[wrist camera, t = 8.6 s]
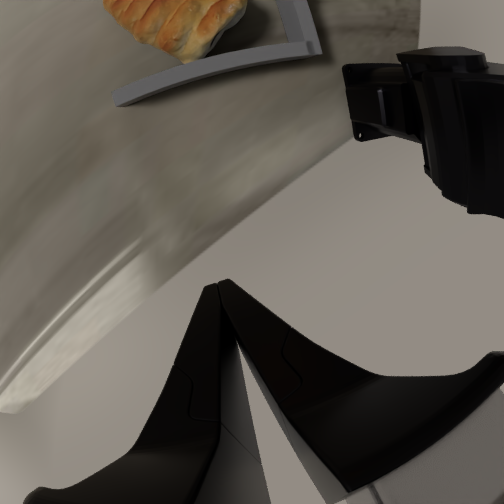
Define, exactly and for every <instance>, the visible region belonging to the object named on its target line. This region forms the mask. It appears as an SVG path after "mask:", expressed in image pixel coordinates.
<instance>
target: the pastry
mask: <svg viewBox="0 0 504 504" xmlns="http://www.w3.org/2000/svg"><path fill="white" fill-rule="evenodd" d="M247 2H248V0H103V5H104V9H105V10H106V11H108V12H109V13H110V14H111V15H112V16H113V17H114V18H115V20H116V21H117V23H118V24H119V25H120V26H122V27H123V28H124V29H126V30H128V31H129V32H130V33H131V34H132V35H133V36H134V38H135V39H136V40H137V41H138V42H140V43H142V44H150V45H152V46H154V47H155V48H157V49H160V50H162V51H163V52H165V53H167V54H169V55H171V56H174V57H175V58H178V59H179V60H180V61H181V62H182V63H183V64H186V63H189V62H193V61H196V60H200V59H203V58H204V57H205V56H206V55H207V53H209V52H210V51H211V50H212V49H213V47H214V46H215V45H216V43H217V41H218V40H219V39H220V37H221V36H222V34H223V32H224V31H225V30H227V29H229V28H231V27H233V26H234V25H235V24H237V22H238V21H239V20H240V19H241V18H242V17H243V15H244V13H245V11H246V7H247Z"/></svg>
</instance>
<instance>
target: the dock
mask: <svg viewBox="0 0 504 504" xmlns="http://www.w3.org/2000/svg"><path fill="white" fill-rule="evenodd" d="M276 3H277V6H278V9H279V12H280V15H281V18H282V21H283V25H284V28H285V31H286V35H287V38H288V42H289V43H283V44H275V45H268V46H261V47H255V48H249V49H244V50H238V51H233V52H229V53H224V54H220V55H216V56H212V57H208V58H204V59H200V60H196V61H193V62H189V63H186V64H183V65H180V66H176V67H173V68H170V69H167V70H164V71H161V72H159V73H156V74H153V75H150V76H148V77H145V78H143V79H140V80H138V81H135V82H133V83H130V84H128V85H125V86H123V87H121V88H119V89H116V90H114V91H112V92H111V93H112V97H113V100H114V103H115V106H116V107H125V106H127V105H129V104H132V103H134V102H137V101H139V100H141V99H144V98H146V97H149V96H152V95H154V94H157V93H160V92H162V91H165V90H168V89H171V88H174V87H177V86H180V85H183V84H186V83H189V82H193V81H196V80H199V79H203V78H206V77H210V76H214V75H218V74H221V73H226V72H230V71H234V70H238V69H243V68H248V67H253V66H258V65H264V64H269V63H276V62H282V61H289V60H297V59H306V58H309V57H313V56H317V55H320V54H322V50H321V47H320V43H319V39H318V36H317V32H316V29H315V25H314V22H313V18H312V15H311V12H310V9H309V6H308V3H307V0H276Z"/></svg>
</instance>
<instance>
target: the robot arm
mask: <svg viewBox="0 0 504 504" xmlns="http://www.w3.org/2000/svg"><path fill="white" fill-rule="evenodd" d="M396 55H397V58H398V61H399V62H401V64H391V63H361V64H346V65H344V66H343V67H342V72H343V77H344V82H345V87H346V96H347V101H348V107H349V113H350V119H351V120H352V127H353V134H354V138H355V139H356V140H357V141H360V142H363V141H368V140H373V139H378V138H383V137H388V136H396V137H399V138H403V139H407V140H410V141H414V142H417V143H420V144H422V149H423V155H424V161H425V165H424V170H425V173H426V174H427V175H428V176H429V177H430V178H431V179H432V181H433V183H434V184H435V185H436V186H438V188H439V189H440V190H441V191H442V195H443V197H445V198H447V199H449V200H450V201H452V202H454V203H457V204H459V205H461V206H464V207H467V213H469V214H486V215H492V216H497V217H500V218H503V219H504V64H498V63H490V62H487V61H486V57H485V54H484V53H482V52H479V51H476V50H472V49H468V48H465V47H431V48H424V49H418V50H413V51H407V52H402V53H397V54H396ZM348 68H349V69H350V72H348ZM360 133H361V137H360V138H359V134H360ZM236 340H237V341H236ZM237 343H238V344H237ZM238 345H239V347H240V349H241V352H242V354H243V356H244V358H245V360H246V362H247V364H248V366H249V368H250V370H251V372H252V374H253V376H254V378H255V380H256V382H257V383H258V385H259V387H260V389H261V391H262V393H263V395H264V396H265V399H266V401H267V402H268V404H269V406H270V408H271V410H272V412H273V414H274V415H275V417H276V419H277V421H278V423H279V425H280V426H281V428H282V430H283V431H284V434H285V435H286V437H287V439H288V441H289V442H290V444H291V446H292V448H293V449H294V451H295V452H296V454H297V456H298V458H299V460H300V461H301V463H302V464H303V466H304V468H305V470H306V471H307V473H308V475H309V476H310V478H311V479H312V481H313V483H314V485H315V486H316V488H317V489H318V491H319V492H320V494H321V495H322V497H323V499H324V500H325V502H326V504H334V503H337V502H339V501H342V500H344V499H346V502H347V504H504V394H503V392H502V391H501V390H500V386H501V385H502V384H503V383H504V351H492V352H490V353H488V354H487V355H486V356H485V357H483V358H482V359H481V360H480V361H479V362H478V363H477V364H476V365H475V366H473V367H472V368H471V369H469V370H466V371H464V372H462V373H458V374H455V375H446V376H383V375H378V374H375V373H372V372H369V371H367V370H365V369H363V368H361V367H359V366H357V365H355V364H353V363H351V362H349V361H347V360H345V359H343V358H341V357H339V356H337V355H335V354H334V353H332V352H330V351H328V350H326V349H324V348H323V347H321V346H319V345H317V344H316V343H314V342H312V341H311V340H309V339H308V338H307V337H305V336H304V335H302V334H301V333H299V332H298V331H297V330H295V329H294V328H291V326H290V325H289V324H287V323H286V322H285V321H283V320H282V319H281V318H279V317H278V316H277V315H275V314H274V313H273V312H271V311H270V310H269V309H268V308H266V307H265V306H264V305H262V304H261V303H260V302H259V301H257V300H256V299H255V298H253V297H252V296H251V295H249V294H248V293H247V292H246V291H245V290H243V289H242V288H241V287H239V286H238V285H237V284H235V283H234V282H233V281H232V280H230V279H225V280H222V281H219V282H218V283H213V284H210V285H207V286H205V287H204V288H203V291H202V293H201V296H200V298H199V301H198V303H197V305H196V308H195V311H194V313H193V315H192V318H191V321H190V323H189V325H188V328H187V330H186V333H185V335H184V338H183V340H182V343H181V345H180V348H179V351H178V353H177V356H176V358H175V361H174V365H173V366H172V368H171V371H170V373H169V376H168V378H167V381H166V384H165V386H164V388H163V390H162V392H161V394H160V397H159V398H158V401H157V403H156V405H155V407H154V408H153V411H152V412H151V414H150V416H149V418H148V420H147V422H146V424H145V426H144V428H143V430H142V432H141V434H140V436H139V437H138V439H137V441H136V442H135V444H134V445H133V447H132V448H131V449H130V450H129V451H128V452H127V453H126V454H125V455H123V456H122V457H121V458H119V459H118V460H116V461H114V462H113V463H111V464H109V465H108V466H106V467H105V468H103V469H101V470H100V471H98V472H96V473H95V474H93V475H91V476H90V477H88V478H86V479H84V480H82V481H81V482H79V483H77V484H75V485H73V486H71V487H68V488H64V489H51V488H46V487H38V488H36V489H35V490H34V491H32V492H31V493H29V494H28V496H27V497H26V498H25V500H24V502H23V504H271V502H270V497H269V493H268V489H267V485H266V480H265V476H264V472H263V467H262V465H261V464H262V463H261V458H260V454H259V449H258V445H257V440H256V435H255V430H254V426H253V421H252V416H251V411H250V406H249V401H248V396H247V391H246V386H245V380H244V376H243V370H242V364H241V359H240V354H239V349H238Z"/></svg>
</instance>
